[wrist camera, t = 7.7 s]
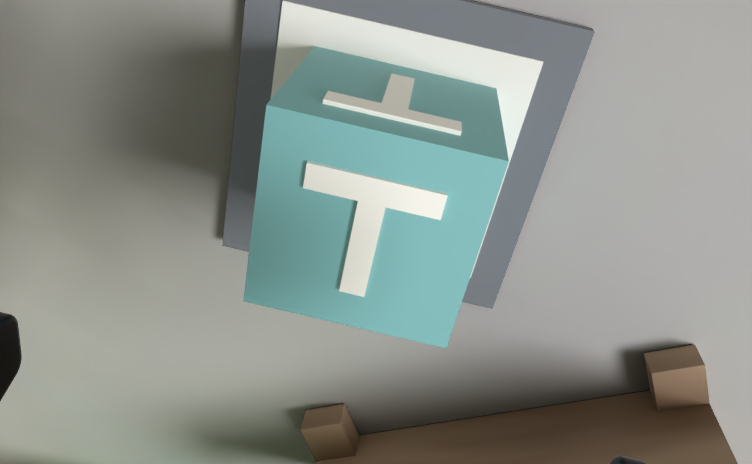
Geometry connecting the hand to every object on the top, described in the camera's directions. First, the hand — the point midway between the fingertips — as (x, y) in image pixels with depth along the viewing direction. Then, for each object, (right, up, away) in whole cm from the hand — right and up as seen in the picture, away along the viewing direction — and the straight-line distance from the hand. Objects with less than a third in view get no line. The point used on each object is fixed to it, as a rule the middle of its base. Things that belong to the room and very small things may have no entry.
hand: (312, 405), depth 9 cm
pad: (+1, +5, +9) cm, 11 cm away
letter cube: (+1, +5, +9) cm, 10 cm away
